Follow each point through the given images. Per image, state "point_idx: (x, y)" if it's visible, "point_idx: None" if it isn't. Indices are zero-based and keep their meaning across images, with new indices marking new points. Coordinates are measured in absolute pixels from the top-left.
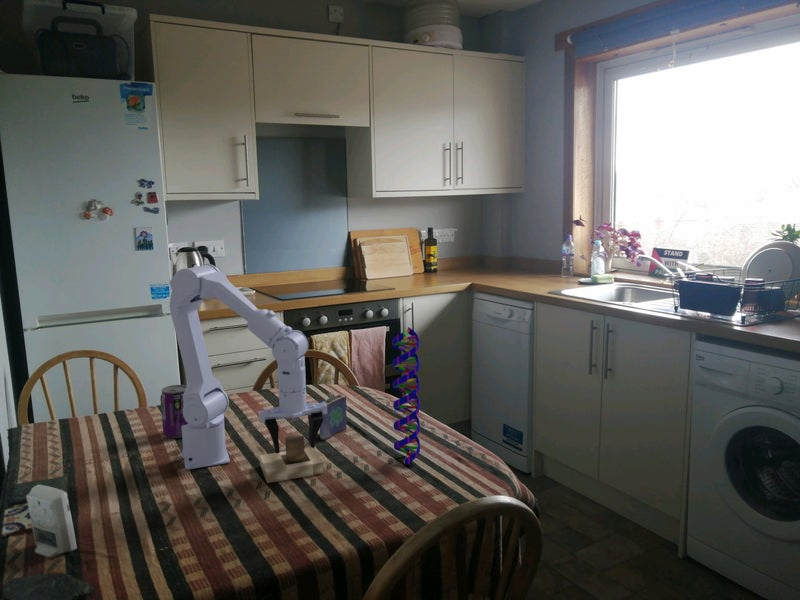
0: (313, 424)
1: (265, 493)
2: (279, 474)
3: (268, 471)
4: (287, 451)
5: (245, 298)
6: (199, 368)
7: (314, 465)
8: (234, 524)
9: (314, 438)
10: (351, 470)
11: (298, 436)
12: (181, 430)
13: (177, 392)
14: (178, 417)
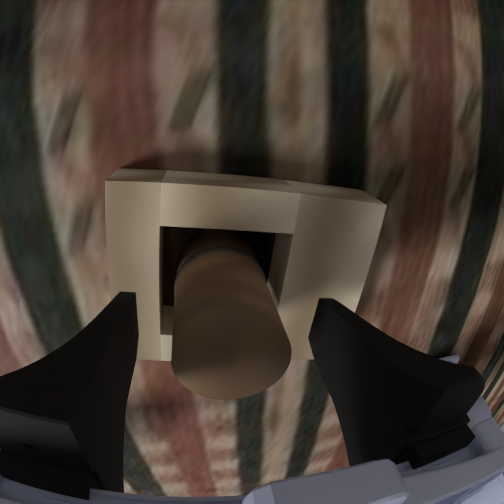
0: (82, 386)
1: (394, 114)
2: (327, 191)
3: (379, 205)
4: (274, 303)
5: None
6: None
7: (153, 179)
8: (490, 14)
9: (105, 318)
10: (12, 150)
11: (201, 376)
12: None
13: None
14: None
